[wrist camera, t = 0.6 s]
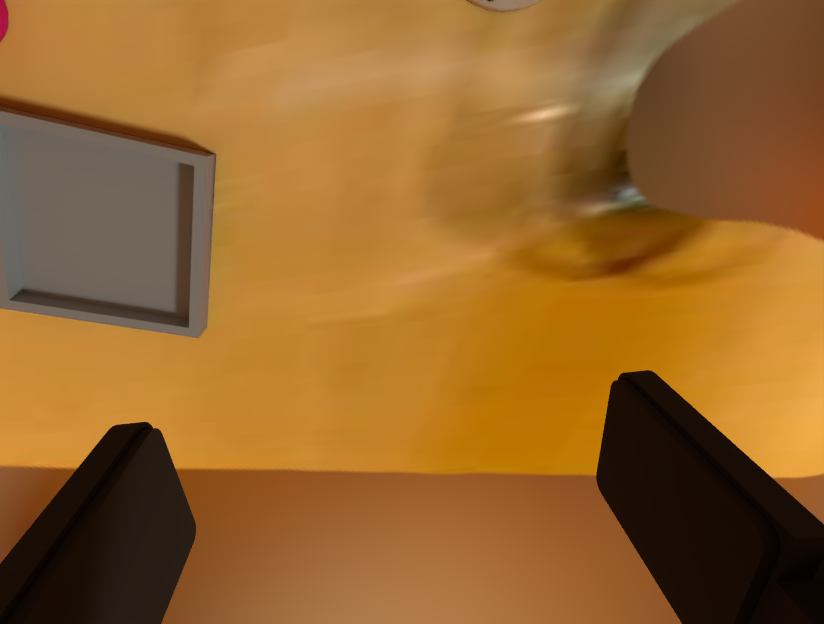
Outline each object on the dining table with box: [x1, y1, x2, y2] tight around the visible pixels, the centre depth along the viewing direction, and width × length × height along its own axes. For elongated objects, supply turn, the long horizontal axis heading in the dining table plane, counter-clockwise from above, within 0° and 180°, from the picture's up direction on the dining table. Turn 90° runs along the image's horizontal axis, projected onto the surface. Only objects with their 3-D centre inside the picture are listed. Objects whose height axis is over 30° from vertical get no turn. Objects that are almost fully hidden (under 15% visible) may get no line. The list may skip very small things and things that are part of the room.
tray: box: [0, 106, 216, 338], centre depth 41 cm, size 18×18×2 cm
